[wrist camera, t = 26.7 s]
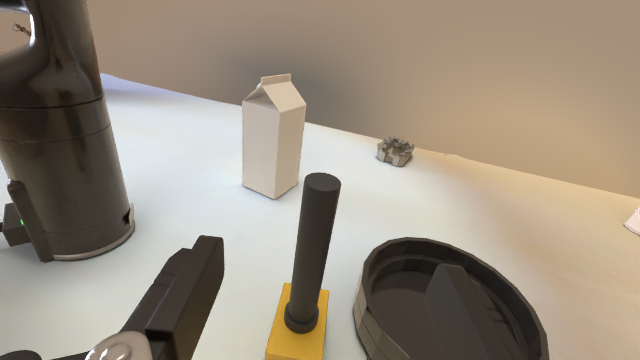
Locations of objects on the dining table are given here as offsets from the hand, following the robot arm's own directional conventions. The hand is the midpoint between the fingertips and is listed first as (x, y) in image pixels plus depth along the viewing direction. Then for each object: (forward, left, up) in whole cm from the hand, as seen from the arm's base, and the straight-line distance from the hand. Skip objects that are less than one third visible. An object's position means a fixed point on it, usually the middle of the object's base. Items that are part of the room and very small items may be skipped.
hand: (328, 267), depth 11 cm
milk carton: (+18, +33, -19) cm, 42 cm away
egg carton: (+52, +31, -19) cm, 64 cm away
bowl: (+18, 0, -19) cm, 26 cm away
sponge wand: (+5, +6, -19) cm, 21 cm away
